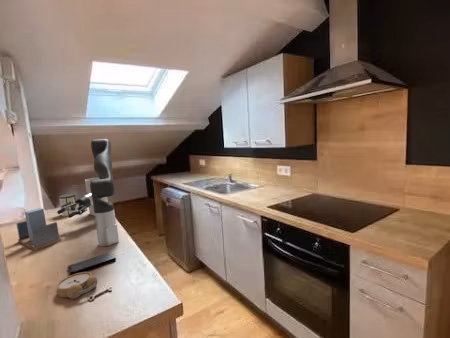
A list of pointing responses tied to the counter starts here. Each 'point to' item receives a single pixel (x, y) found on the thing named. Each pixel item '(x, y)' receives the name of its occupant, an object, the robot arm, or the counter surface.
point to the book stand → (31, 244)
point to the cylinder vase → (87, 182)
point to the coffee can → (66, 199)
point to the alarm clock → (76, 285)
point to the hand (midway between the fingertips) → (63, 214)
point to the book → (35, 220)
